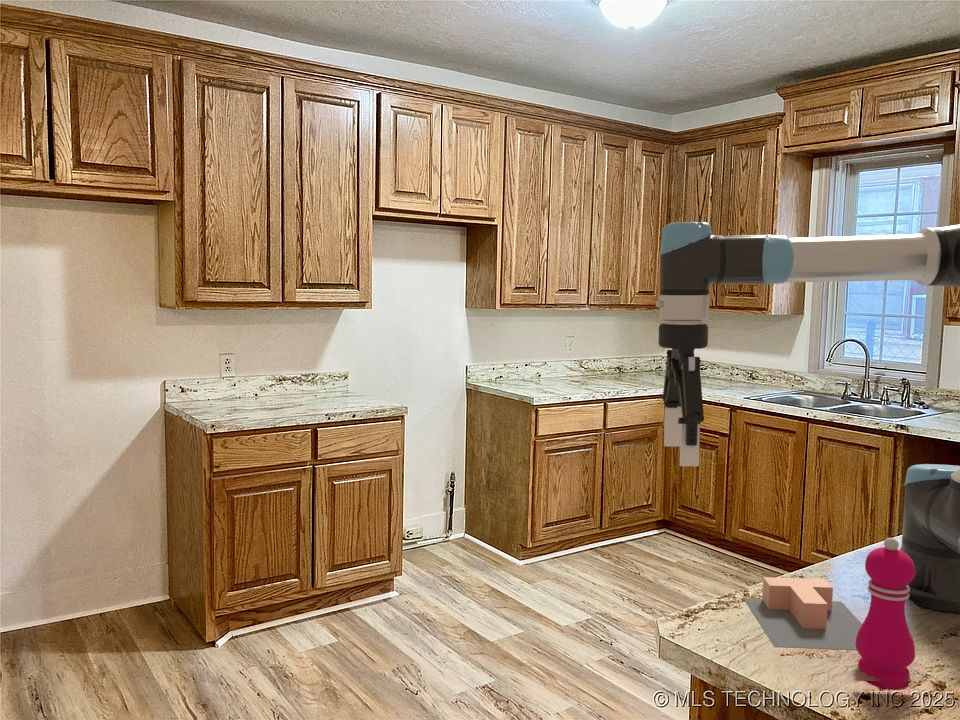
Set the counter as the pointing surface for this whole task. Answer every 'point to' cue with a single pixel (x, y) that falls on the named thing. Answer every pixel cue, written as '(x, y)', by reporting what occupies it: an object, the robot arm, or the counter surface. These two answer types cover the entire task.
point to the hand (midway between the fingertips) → (680, 455)
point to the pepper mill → (887, 618)
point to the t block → (800, 599)
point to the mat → (793, 635)
